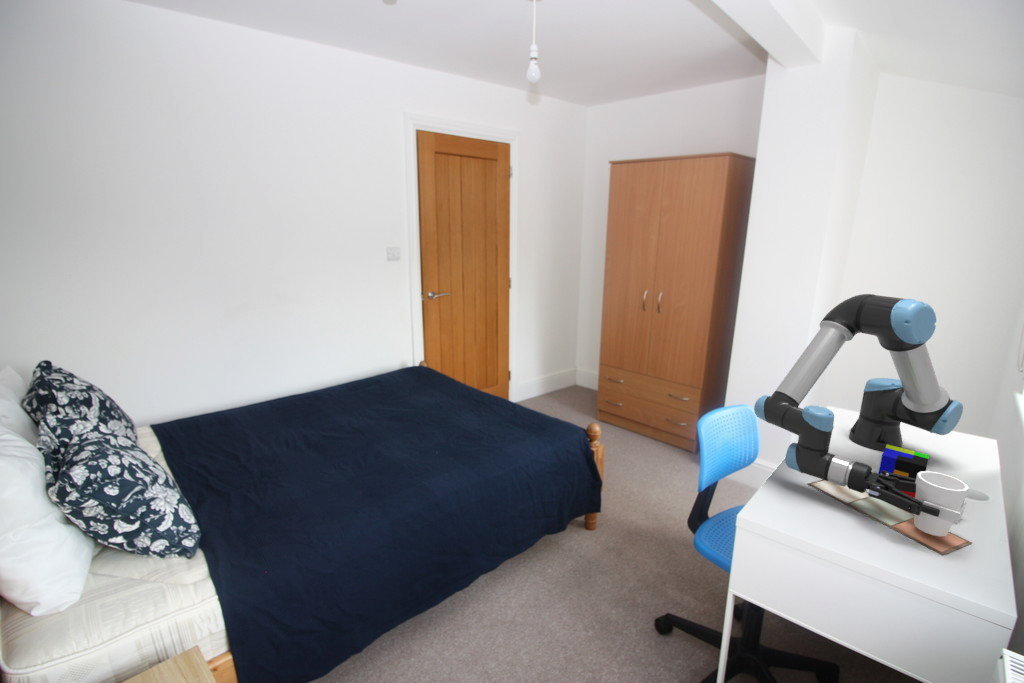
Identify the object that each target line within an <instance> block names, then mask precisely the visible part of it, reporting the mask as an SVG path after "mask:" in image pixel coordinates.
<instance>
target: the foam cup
mask: <svg viewBox="0 0 1024 683" xmlns="http://www.w3.org/2000/svg"><path fill="white" fill-rule="evenodd" d="M915 483H916V495H915V499H917V500H919V501H921V502H922V503H924V501H926V502H929V503H933V504H936V505H939V506H942V507H945V508H948V509H951V510H954V511H957V512H958V511H959V509H960V507H961V505H962V503H963V501H964V499H965V500H966V498H967V497H968V494H969V489H970V487H969V486H968V484H967V483H965V482H963V481H962V480H960V479H959V478H957V477H954V476H951V475H948V474H945V473H942V472H938V471H937V472H936V471H931V470H926V471H920V472H919V473H917V477H916V481H915ZM914 524H915V526H916V527H917V528H918V529H920V530H921V531H923V532H925V533H928V534H931V535H935V536H946V535H947V533H948V532H950V529H951V527H952V526H953V524H954V523H952V522H949V521H946V520H943V519H940V518H937V517H934V516H931V515H928V514H926V513H923V512H920V515H915V514H914Z"/></svg>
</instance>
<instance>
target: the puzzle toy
mask: <svg viewBox="0 0 1024 683" xmlns="http://www.w3.org/2000/svg"><path fill="white" fill-rule="evenodd" d="M882 452H883V453H882V454H881V458H880V464H879V468H878V473H877V474H881V471H882V470H884V471H887V472H890V473H893V474H898V475H902V476H906V477H911V478H915V479H916V477H917V473H919V472H920V471H927V467H928V464H929V458H930V454H928V453H927V454H926V453H923V452H918V451H914V450H912V449H907V448H900V447H896V446H892V445H888V444H887V445H886V447H885V450H884V451H882ZM902 492H903V493H905V494H907V495H909V496H911V497H913V498H915V495H916V493H912V492H906V491H902Z"/></svg>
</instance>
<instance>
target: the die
mask: <svg viewBox="0 0 1024 683" xmlns="http://www.w3.org/2000/svg"><path fill="white" fill-rule="evenodd" d="M966 504H967V500H965V501H964V504H963V508H961V507H960V509H959V511H958V512H960V516H959V520H962V519H963V515H964V512H965V508H966ZM961 518H962V519H961Z"/></svg>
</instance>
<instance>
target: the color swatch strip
mask: <svg viewBox="0 0 1024 683" xmlns="http://www.w3.org/2000/svg"><path fill="white" fill-rule="evenodd" d="M807 484H808V486H809V485H810V487H811V486H812V487H811V488H813V487H814V488H813V489H815V488H816V489H815V490H817V489H818V490H817V491H819V490H820V491H819V492H821V491H822V492H821V493H823V492H824V493H823V494H825V493H826V494H825V495H826V496H828V495H829V497H830V496H831V497H830V498H832V497H833V499H834V500H836V501H838V502H840V503H841V504H844V505H846V506H847V507H850V508H852V509H853V510H856V511H857V512H859V513H861V514H863V515H865V516H867V517H869V518H871V519H873V520H875V521H877V522H878V523H880V524H883V525H884V526H886V527H888V528H890V529H892V530H893V531H895V532H897V533H899V534H902V535H903V536H904V537H908V538H909V539H911V540H913V541H915V542H917V543H918V544H920V545H922V546H924V547H926V548H928V549H930V550H932V551H934V552H936V553H938V554H940V555H941V556H945V555H948V554H951V553H952V552H955V551H957V550H959V549H962V547H963V548H965V547H967V546H969V544H970V545H972V544H973V542H972V541H969V540H967V539H966V538H963V537H961V536H959V535H957V534H955V533H953V532H951V531H949V532H948V533H947V535H946V536H935V535H931V534H928V533H925V532H923V531H921V530H920V529H918V528H917V527H916V526H915V524H914V514H912V513H909V512H907V511H905V510H903V509H900V508H898V507H896V506H893V505H891V504H889V503H887V502H884V501H882V500H880V499H877V498H873V497H870V496H869V495H868V494H869V491H867V490H866V491H865V492H864V493H860V492H857V491H855V490H852V489H849V488H848V486H847V485H846V486H845V487H843V486H841V485H838V484H837V485H834V483H832V482H829V481H826V480H823V479H819V480H816V481H813V482H808V483H807ZM971 543H972V544H971Z"/></svg>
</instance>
